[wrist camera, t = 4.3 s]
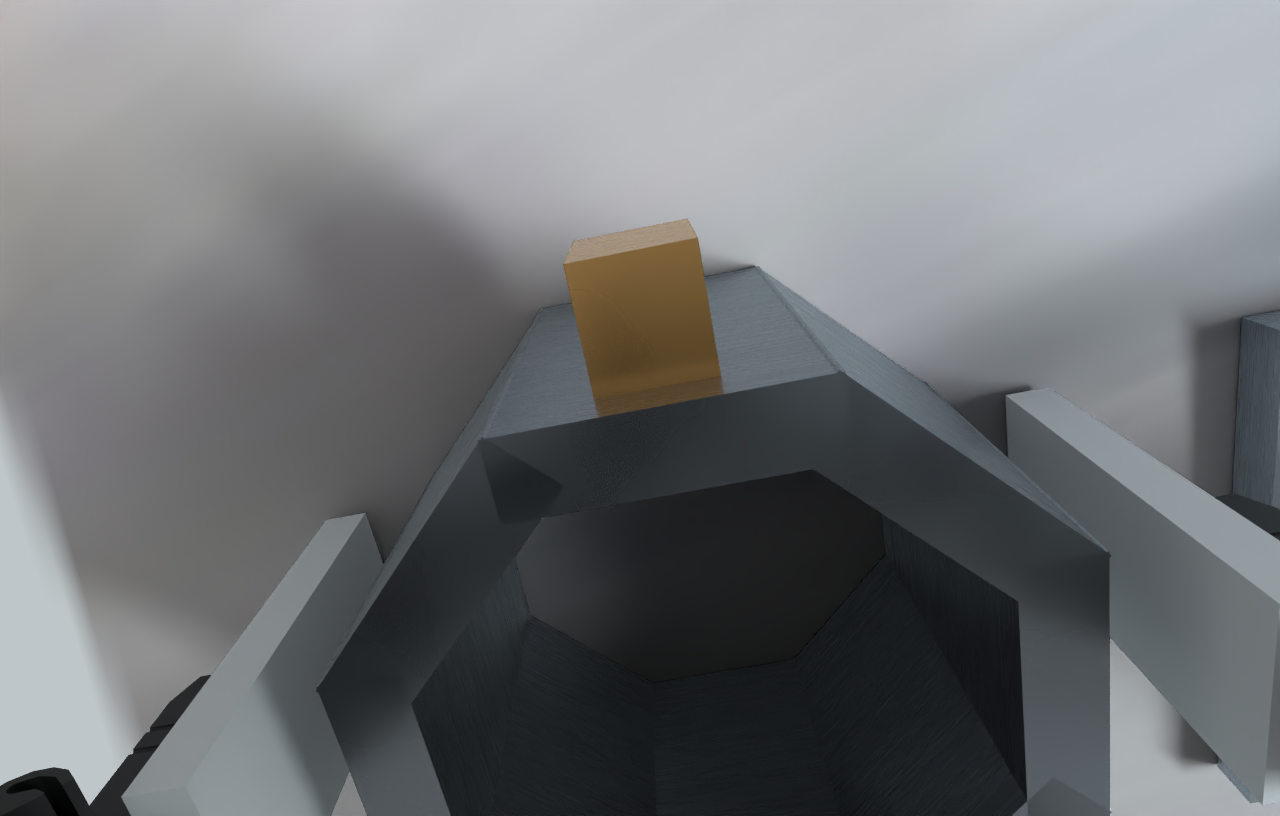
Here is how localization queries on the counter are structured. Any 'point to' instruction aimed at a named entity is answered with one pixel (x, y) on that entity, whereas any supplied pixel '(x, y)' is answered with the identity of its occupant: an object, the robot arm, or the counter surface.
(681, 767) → the collar
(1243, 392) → the bolted post base
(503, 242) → the counter surface
